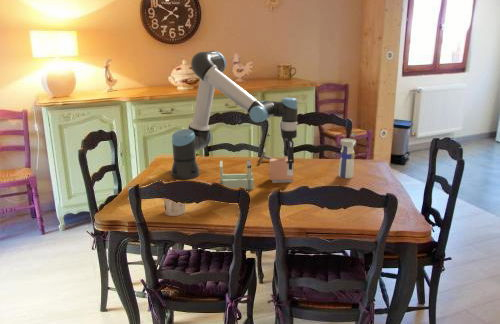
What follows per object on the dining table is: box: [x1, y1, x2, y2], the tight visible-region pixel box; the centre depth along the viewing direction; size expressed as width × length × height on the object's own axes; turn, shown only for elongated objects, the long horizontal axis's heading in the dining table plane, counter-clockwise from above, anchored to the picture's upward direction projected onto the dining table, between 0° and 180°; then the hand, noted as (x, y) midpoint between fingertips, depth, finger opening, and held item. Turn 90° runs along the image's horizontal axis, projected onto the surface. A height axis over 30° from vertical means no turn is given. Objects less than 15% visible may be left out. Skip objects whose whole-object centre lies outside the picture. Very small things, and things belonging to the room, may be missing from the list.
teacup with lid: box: [163, 198, 187, 217], centre depth 171 cm, size 12×9×12 cm
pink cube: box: [268, 158, 295, 181], centre depth 210 cm, size 12×4×10 cm, turn 93°
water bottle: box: [337, 131, 357, 179], centre depth 214 cm, size 8×9×25 cm
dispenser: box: [219, 159, 255, 191], centre depth 201 cm, size 16×9×12 cm, turn 93°
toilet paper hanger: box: [258, 147, 275, 164], centre depth 235 cm, size 23×9×8 cm, turn 177°
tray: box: [271, 179, 293, 184], centre depth 212 cm, size 10×8×1 cm
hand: (288, 171), depth 211 cm, fingers open, 11 cm apart
